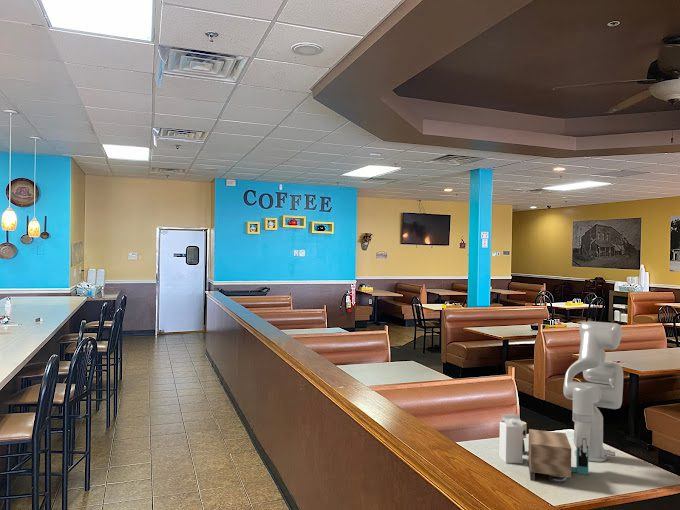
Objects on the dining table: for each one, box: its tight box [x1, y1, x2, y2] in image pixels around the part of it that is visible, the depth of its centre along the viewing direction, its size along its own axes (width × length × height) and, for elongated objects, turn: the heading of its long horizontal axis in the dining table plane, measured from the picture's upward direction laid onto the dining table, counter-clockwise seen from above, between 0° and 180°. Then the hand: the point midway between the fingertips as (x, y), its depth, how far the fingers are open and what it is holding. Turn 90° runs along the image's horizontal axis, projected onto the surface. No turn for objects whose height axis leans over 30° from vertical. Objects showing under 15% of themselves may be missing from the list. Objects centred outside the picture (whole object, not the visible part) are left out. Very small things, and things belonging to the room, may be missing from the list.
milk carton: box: [498, 413, 524, 464], centre depth 217 cm, size 7×7×19 cm
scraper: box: [571, 447, 589, 475], centre depth 208 cm, size 19×14×10 cm
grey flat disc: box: [548, 474, 567, 483], centre depth 197 cm, size 6×6×1 cm
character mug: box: [521, 420, 527, 454], centre depth 228 cm, size 11×7×13 cm, turn 157°
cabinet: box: [528, 428, 572, 482], centre depth 202 cm, size 14×20×14 cm
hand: (582, 464), depth 205 cm, fingers closed on scraper, 3 cm apart
